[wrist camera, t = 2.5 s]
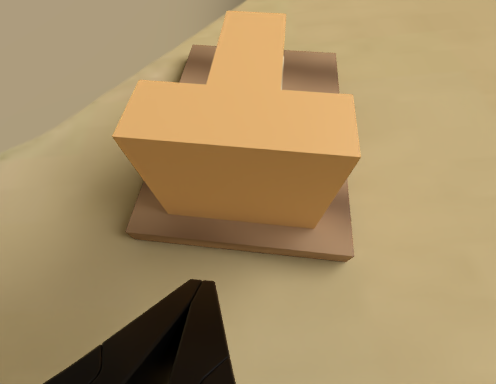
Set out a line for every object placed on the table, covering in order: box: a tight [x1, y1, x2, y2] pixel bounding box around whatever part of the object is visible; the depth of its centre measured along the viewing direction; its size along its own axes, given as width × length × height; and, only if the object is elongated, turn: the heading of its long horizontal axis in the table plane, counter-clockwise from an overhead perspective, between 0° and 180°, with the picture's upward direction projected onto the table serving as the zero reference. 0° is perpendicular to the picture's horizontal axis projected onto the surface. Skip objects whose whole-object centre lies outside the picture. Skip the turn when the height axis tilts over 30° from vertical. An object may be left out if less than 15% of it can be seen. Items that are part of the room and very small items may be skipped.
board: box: [125, 45, 354, 262], centre depth 22 cm, size 21×15×2 cm
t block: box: [112, 11, 361, 229], centre depth 16 cm, size 10×10×8 cm
